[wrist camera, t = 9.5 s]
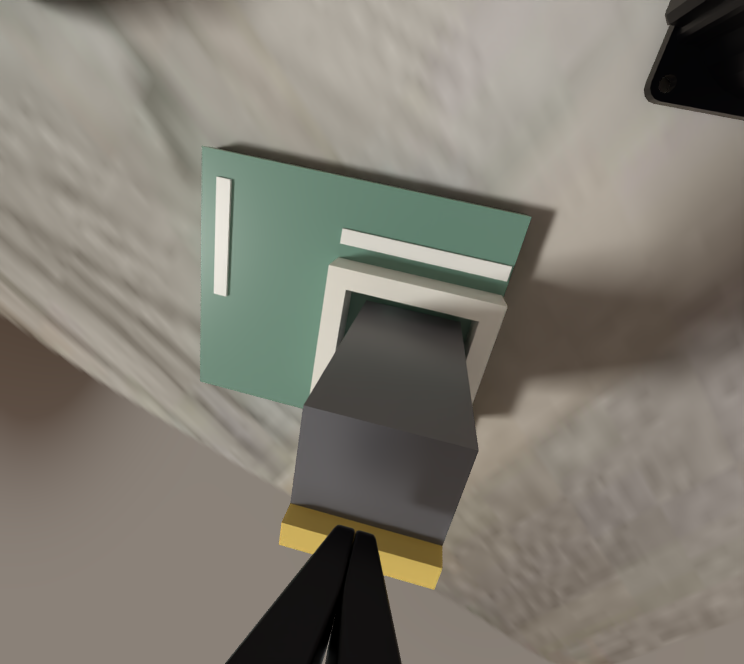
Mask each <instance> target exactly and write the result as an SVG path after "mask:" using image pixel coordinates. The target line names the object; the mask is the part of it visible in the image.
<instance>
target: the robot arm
mask: <svg viewBox="0 0 744 664" xmlns="http://www.w3.org/2000/svg"><path fill="white" fill-rule="evenodd" d="M665 17H666V21H667V25H670V26H669V28H668V30H667V33H666V35H665V38H664V40H663V43H662V45H661V47H660V50H659V52H658V55H657V57H656V59H655V62H654V64H653V67H652V69H651V72H650V74H649V76H648V79H647V81H646V84H645V88H644V94H645V97H646V99H647V100H648V101H649V102H651V103H653V104H659V105H664V106H669V107H675V108H680V109H685V110H691V111H696V112H701V113H707V114H712V115H717V116H723V117H728V118H733V119H739V120H744V0H671V1H670V3H669V6H668V8H667V10H666V13H665ZM663 77H665V78H667V79H669V82H670V86H669V89H668V90H667V92H666V93H663V92H661V91H660V90H659V82H660V80H661V79H662V78H663ZM354 535H355V536H354ZM334 618H335V619H334ZM333 622H334V623H333ZM332 626H333V627H332ZM331 630H332V631H331ZM330 634H331V635H330ZM329 638H330V640H329ZM328 642H329V645H328ZM327 645H328V650H327V656H326V662H325V664H401V658H400V653H399V648H398V644H397V639H396V634H395V629H394V624H393V620H392V615H391V610H390V605H389V600H388V595H387V590H386V585H385V580H384V575H383V571H382V566H381V561H380V556H379V551H378V546H377V541H376V538H375V536H374V535H373V534H371V533H367V532H364V531H360V530H358V531H356V533H355V530H354V529H353V528H350V527H346V526H343V525H337V526H335V527H334V529H333V530H332V531H331V532H330V533H329V535H328V536H327V537H326V538H325V540H324V541H323V542H322V543H321V545H320V546H319V547H318V548H317V550H316V551H315V552H314V553H313V555H312V556H311V557H310V558H309V560H308V561H307V562H306V564H305V565H304V566H303V567H302V568H301V570H300V571H299V572H298V573H297V575H296V576H295V577H294V578H293V580H292V581H291V582H290V583H289V585H288V586H287V587H286V588H285V589H284V591H283V592H282V593H281V595H280V596H279V597H278V598H277V600H276V601H275V602H274V603H273V605H272V606H271V607H270V608H269V609H268V611H267V612H266V613H265V614H264V616H263V617H262V618H261V619H260V621H259V622H258V623H257V624H256V626H255V627H254V628H253V629H252V631H251V632H250V633H249V634H248V636H247V637H246V638H245V639H244V641H243V642H242V643H241V644H240V645H239V647H238V648H237V649H236V650H235V652H234V653H233V654H232V655H231V657H230V658H229V659H228V661H227V662H226V663H225V664H322V661H323V658H324V655H325V652H326V649H327Z"/></svg>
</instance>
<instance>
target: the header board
mask: <svg viewBox="0 0 744 664" xmlns="http://www.w3.org/2000/svg"><path fill="white" fill-rule="evenodd" d="M531 218H532V217H531V216H528V215H526V214H521V213H517V212H512V211H507V210H503V209H498V208H494V207H489V206H484V205H480V204H475V203H470V202H466V201H461V200H456V199H452V198H447V197H442V196H438V195H433V194H428V193H424V192H419V191H414V190H410V189H405V188H400V187H396V186H391V185H386V184H382V183H377V182H372V181H368V180H363V179H359V178H354V177H349V176H345V175H340V174H335V173H331V172H326V171H321V170H317V169H312V168H307V167H303V166H298V165H293V164H289V163H284V162H279V161H275V160H270V159H265V158H261V157H256V156H251V155H247V154H242V153H237V152H233V151H228V150H223V149H219V148H213V147H206V146H202V203H201V339H200V381H201V382H205V383H208V384H212V385H216V386H220V387H223V388H227V389H231V390H235V391H238V392H242V393H246V394H250V395H253V396H257V397H261V398H265V399H268V400H272V401H276V402H280V403H283V404H287V405H291V406H295V407H298V408H302V409H303V405H304V403H305V402H306V400H307V398H308V397H309V395H310V393H311V392H312V390H313V388H314V387H315V385H316V383H317V382H318V380H319V378H320V377H321V375H322V373H323V372H324V370H325V368H326V367H327V365H328V363H329V362H330V360H331V358H332V357H333V355H334V353H335V352H336V350H337V348H338V347H339V345H340V343H341V342H342V340H343V338H344V337H345V335H346V333H347V332H348V330H349V328H350V327H351V325H352V323H353V322H354V320H355V318H356V317H357V315H358V313H359V312H360V310H361V308H362V307H363V305H364V303H365V302H366V300H368V301H372V302H376V303H381V304H385V305H389V306H393V307H398V308H402V309H406V310H411V311H415V312H419V313H424V314H428V315H432V316H437V317H441V318H445V319H450V320H454V321H458V322H461V329H462V336H463V343H464V350H465V357H466V364H467V372H468V379H469V386H470V393H471V400H472V404H473V401H474V399H475V396H476V393H477V390H478V387H479V385H480V382H481V379H482V376H483V374H484V371H485V368H486V365H487V363H488V360H489V357H490V354H491V351H492V349H493V346H494V343H495V340H496V338H497V335H498V332H499V329H500V327H501V324H502V321H503V318H504V315H505V313H506V310H507V305H506V303H505V301H504V299H503V297H504V294H505V291H506V289H507V286H508V283H509V280H510V277H511V274H512V272H513V269H514V266H515V263H516V260H517V257H518V255H519V252H520V249H521V246H522V243H523V240H524V238H525V235H526V232H527V229H528V226H529V223H530V220H531Z"/></svg>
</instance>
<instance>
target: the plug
mask: <svg viewBox="0 0 744 664" xmlns="http://www.w3.org/2000/svg"><path fill="white" fill-rule="evenodd" d="M478 451H479V450H478V443H477V436H476V429H475V421H474V414H473V407H472V400H471V393H470V386H469V379H468V372H467V364H466V357H465V350H464V343H463V336H462V329H461V322H458V321H454V320H450V319H445V318H441V317H437V316H432V315H428V314H424V313H419V312H415V311H411V310H406V309H402V308H398V307H393V306H389V305H385V304H381V303H376V302H372V301H368V300H366V302H365V303H364V305H363V307H362V308H361V310H360V312H359V313H358V315H357V317H356V318H355V320H354V322H353V323H352V325H351V327H350V328H349V330H348V332H347V333H346V335H345V337H344V338H343V340H342V342H341V343H340V345H339V347H338V348H337V350H336V352H335V353H334V355H333V357H332V358H331V360H330V362H329V363H328V365H327V367H326V368H325V370H324V372H323V373H322V375H321V377H320V378H319V380H318V382H317V383H316V385H315V387H314V388H313V390H312V392H311V393H310V395H309V397H308V398H307V400H306V402H305V403H304V405H303V412H302V420H301V427H300V435H299V442H298V450H297V458H296V465H295V473H294V480H293V488H292V495H291V503H290V505H289V508H288V510H287V512H286V514H285V516H284V519H283V521H282V523H281V532H280V540H279V545H282V546H286V547H289V548H293V549H296V550H300V551H303V552H307V553H310V554H313V553H314V552H315V551H316V550H317V548H318V547H319V546H320V545H321V543H322V542H323V541H324V540H325V538H326V537H327V536H328V535H329V533H330V532H331V531H332V530H333V529H334V527H335V526H337V525H343V526H346V527H350V528H353V529H354V530H355V533H356V531H358V530H360V531H364V532H367V533H371V534H373V535H374V536H375V538H376V541H377V546H378V551H379V556H380V561H381V566H382V571H383V575H385V576H389V577H392V578H396V579H399V580H403V581H406V582H409V583H413V584H416V585H420V586H423V587H427V588H430V589H433V590H434V588H435V586H436V583H437V581H438V578H439V576H440V573H441V571H442V545H443V543H444V540H445V537H446V535H447V532H448V530H449V527H450V524H451V522H452V519H453V516H454V514H455V511H456V509H457V506H458V503H459V501H460V498H461V495H462V493H463V490H464V488H465V485H466V482H467V480H468V477H469V474H470V472H471V469H472V467H473V464H474V461H475V459H476V456H477V453H478ZM354 536H355V535H354Z"/></svg>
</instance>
